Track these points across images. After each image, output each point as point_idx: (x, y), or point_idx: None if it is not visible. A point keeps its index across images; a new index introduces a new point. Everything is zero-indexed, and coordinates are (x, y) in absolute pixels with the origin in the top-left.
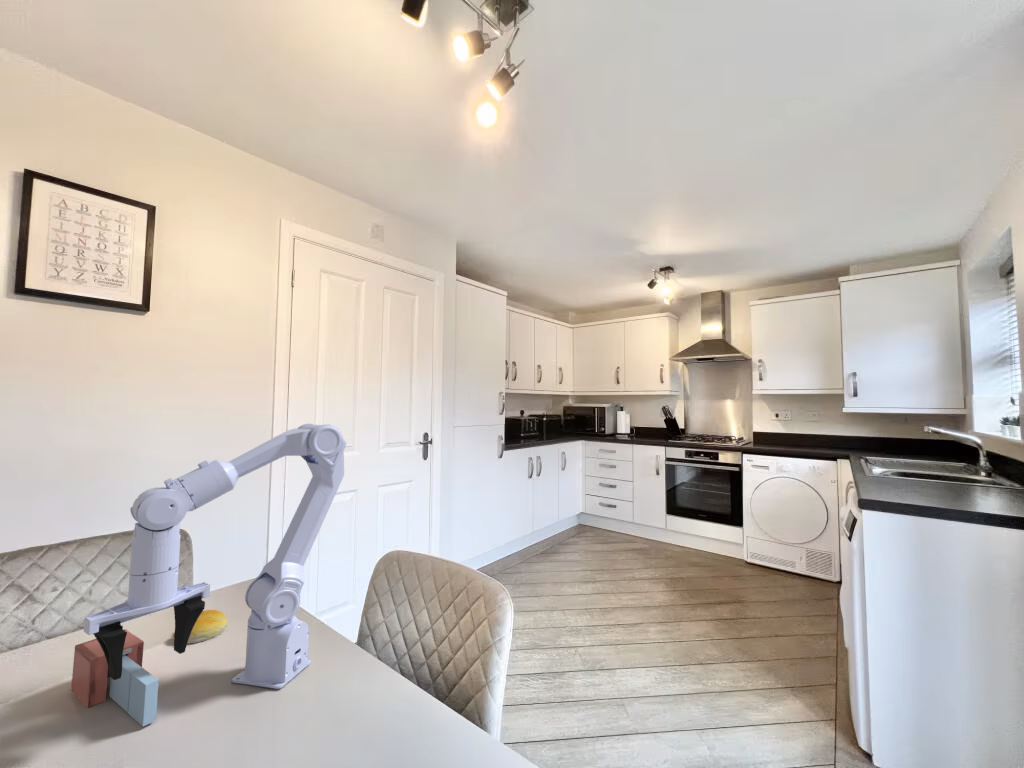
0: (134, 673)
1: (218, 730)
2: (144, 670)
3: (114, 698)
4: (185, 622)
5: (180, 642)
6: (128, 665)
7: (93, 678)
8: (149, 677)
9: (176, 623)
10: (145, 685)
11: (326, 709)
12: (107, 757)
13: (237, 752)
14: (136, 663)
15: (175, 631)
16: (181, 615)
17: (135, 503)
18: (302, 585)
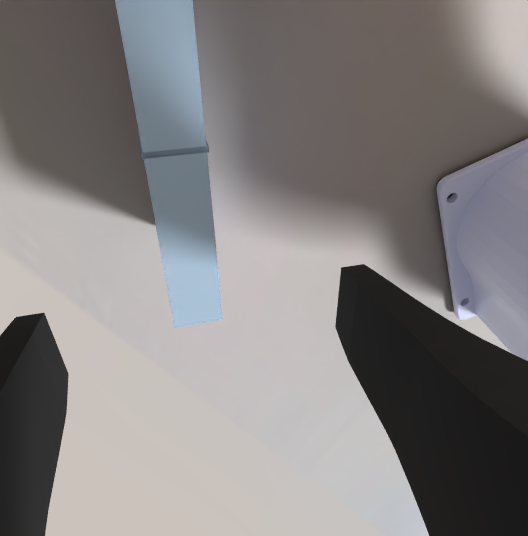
0: (158, 172)
1: (290, 361)
2: (205, 178)
3: None
4: (423, 511)
5: (361, 367)
6: (149, 15)
7: None
8: (201, 274)
9: (431, 378)
10: (173, 319)
11: None
12: (65, 289)
13: (277, 434)
14: (194, 29)
15: (398, 329)
16: (460, 510)
17: None
18: None
